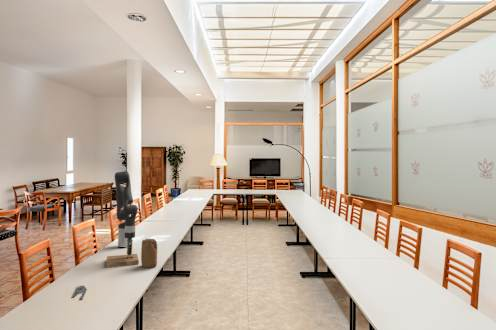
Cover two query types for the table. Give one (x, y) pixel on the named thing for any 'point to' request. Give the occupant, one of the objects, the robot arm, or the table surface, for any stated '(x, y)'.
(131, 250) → the peg
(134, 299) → the table surface
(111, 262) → the board
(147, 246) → the block
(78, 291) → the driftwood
